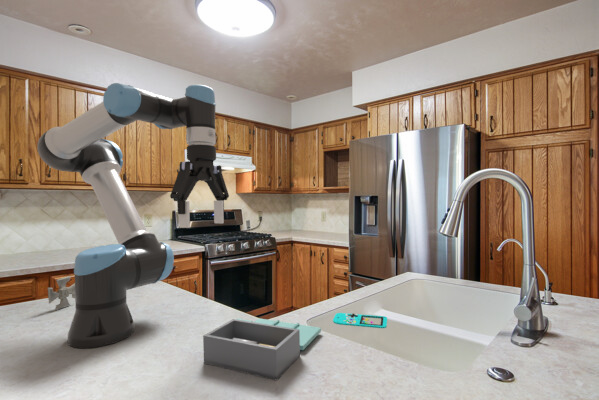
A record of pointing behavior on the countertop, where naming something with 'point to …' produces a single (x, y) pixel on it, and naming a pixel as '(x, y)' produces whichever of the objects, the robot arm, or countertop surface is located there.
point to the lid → (305, 331)
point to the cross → (62, 293)
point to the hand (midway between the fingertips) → (202, 225)
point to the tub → (252, 348)
